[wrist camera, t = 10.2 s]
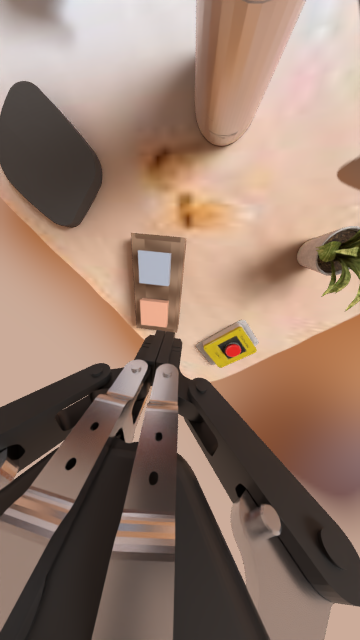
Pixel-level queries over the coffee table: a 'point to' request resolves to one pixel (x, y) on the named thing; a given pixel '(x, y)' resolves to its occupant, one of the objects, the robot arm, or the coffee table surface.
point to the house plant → (334, 257)
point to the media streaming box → (47, 156)
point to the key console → (158, 291)
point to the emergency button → (229, 344)
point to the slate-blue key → (154, 267)
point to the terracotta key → (154, 312)
